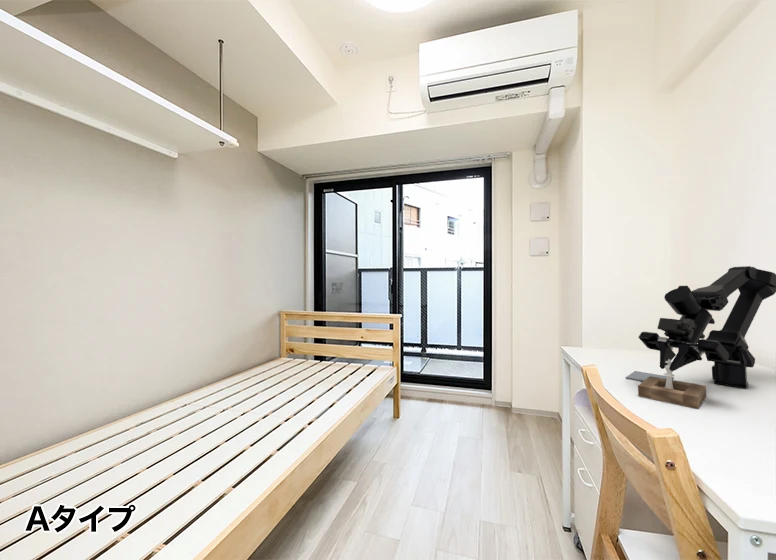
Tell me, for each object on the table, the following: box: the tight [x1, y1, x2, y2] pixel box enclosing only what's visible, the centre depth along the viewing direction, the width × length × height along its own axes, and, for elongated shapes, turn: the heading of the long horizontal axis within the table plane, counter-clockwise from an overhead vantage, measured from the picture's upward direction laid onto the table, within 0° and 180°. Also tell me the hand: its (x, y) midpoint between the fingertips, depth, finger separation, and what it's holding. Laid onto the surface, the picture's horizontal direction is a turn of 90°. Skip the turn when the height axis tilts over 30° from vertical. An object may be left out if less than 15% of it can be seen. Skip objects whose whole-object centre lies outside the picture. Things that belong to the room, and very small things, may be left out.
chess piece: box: [663, 359, 675, 390], centre depth 86 cm, size 5×5×10 cm
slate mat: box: [625, 370, 675, 383], centre depth 100 cm, size 10×10×1 cm
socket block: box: [637, 376, 707, 410], centre depth 85 cm, size 12×12×3 cm
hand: (665, 369), depth 86 cm, fingers closed on chess piece
